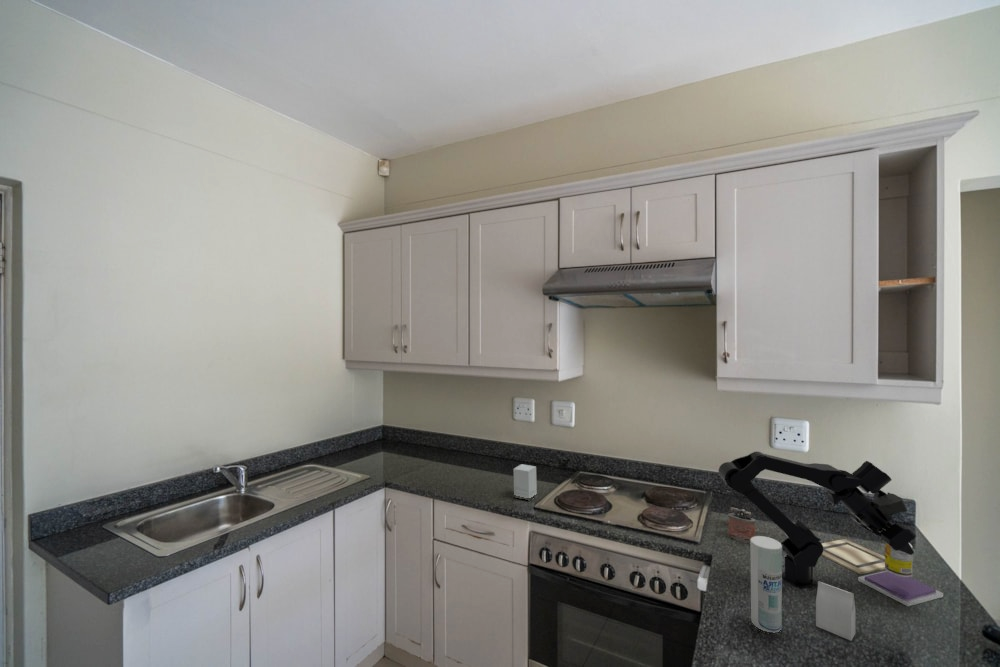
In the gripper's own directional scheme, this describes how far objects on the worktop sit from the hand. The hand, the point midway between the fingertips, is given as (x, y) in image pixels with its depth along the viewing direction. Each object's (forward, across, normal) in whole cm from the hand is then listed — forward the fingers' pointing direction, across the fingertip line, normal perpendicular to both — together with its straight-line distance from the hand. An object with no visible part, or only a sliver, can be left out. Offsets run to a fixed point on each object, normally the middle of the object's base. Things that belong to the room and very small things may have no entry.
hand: (904, 548), depth 121 cm
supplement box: (-68, +48, +86) cm, 120 cm away
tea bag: (-10, -21, +27) cm, 36 cm away
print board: (+5, +16, +11) cm, 20 cm away
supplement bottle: (+4, 0, +6) cm, 7 cm away
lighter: (-15, +23, +32) cm, 42 cm away
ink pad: (+7, 0, +9) cm, 11 cm away
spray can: (-21, -22, +38) cm, 48 cm away
